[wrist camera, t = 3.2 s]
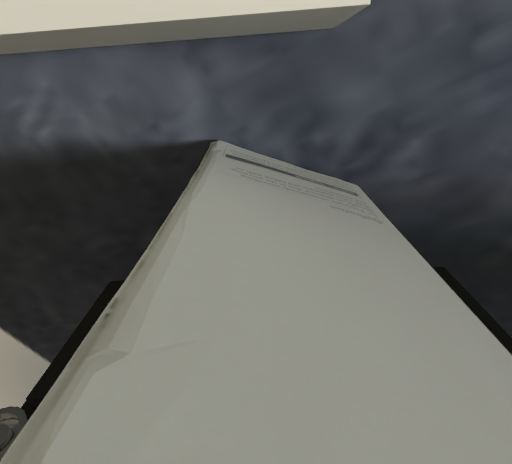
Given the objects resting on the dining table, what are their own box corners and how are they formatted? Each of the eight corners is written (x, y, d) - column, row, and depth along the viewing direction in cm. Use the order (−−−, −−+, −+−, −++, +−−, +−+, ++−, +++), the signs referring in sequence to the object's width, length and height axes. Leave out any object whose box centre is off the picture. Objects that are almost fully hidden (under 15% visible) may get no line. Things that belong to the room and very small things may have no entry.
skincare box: (280, 351, 16) (304, 708, 7) (168, 325, 15) (32, 692, 6) (369, 184, 11) (810, 641, 2) (212, 134, 11) (-121, 527, 1)
